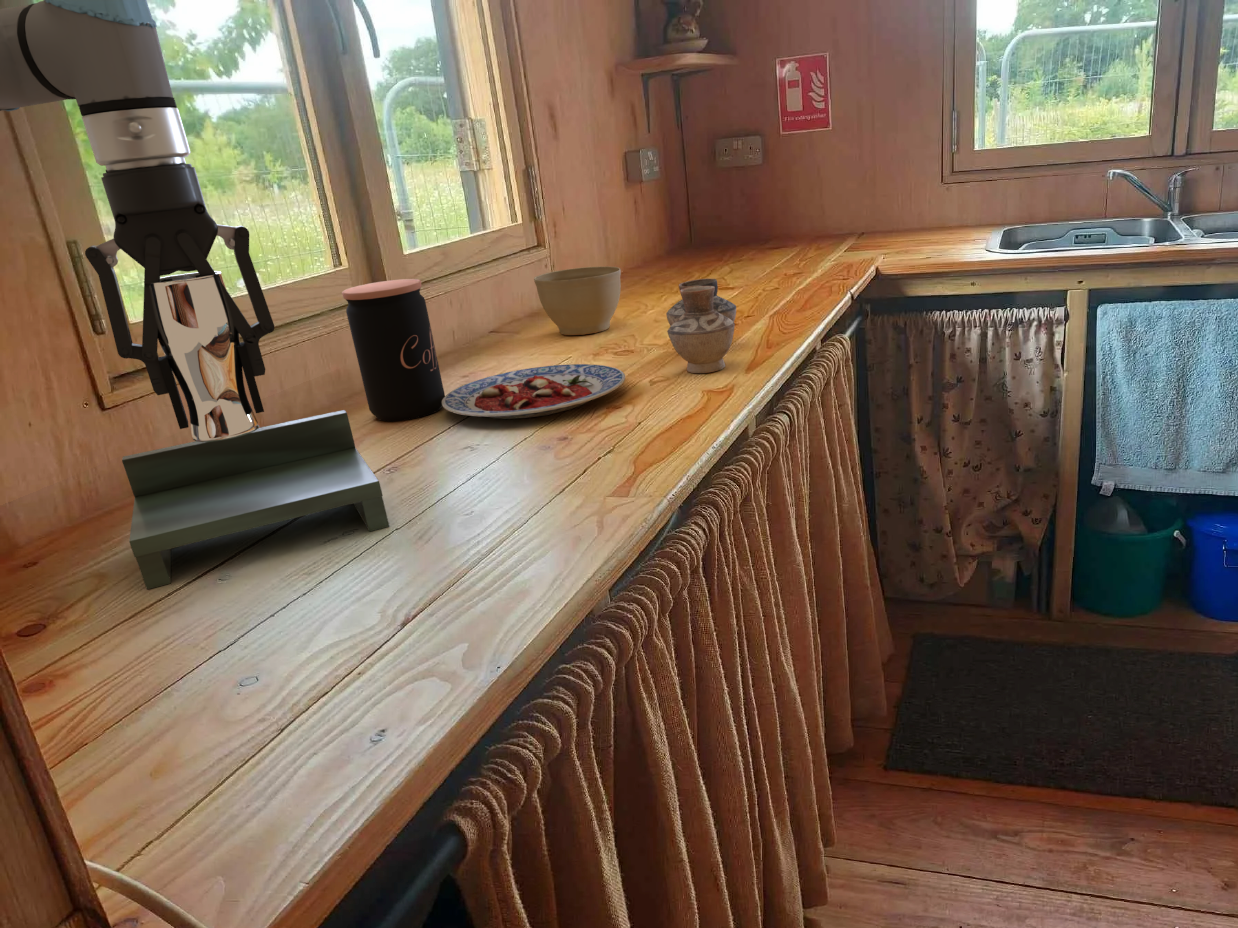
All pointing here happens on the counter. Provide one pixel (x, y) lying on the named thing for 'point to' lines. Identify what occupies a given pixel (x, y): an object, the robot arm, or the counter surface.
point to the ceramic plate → (533, 391)
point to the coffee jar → (395, 349)
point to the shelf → (245, 486)
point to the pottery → (701, 325)
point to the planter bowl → (580, 298)
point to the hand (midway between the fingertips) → (222, 417)
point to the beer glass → (203, 354)
